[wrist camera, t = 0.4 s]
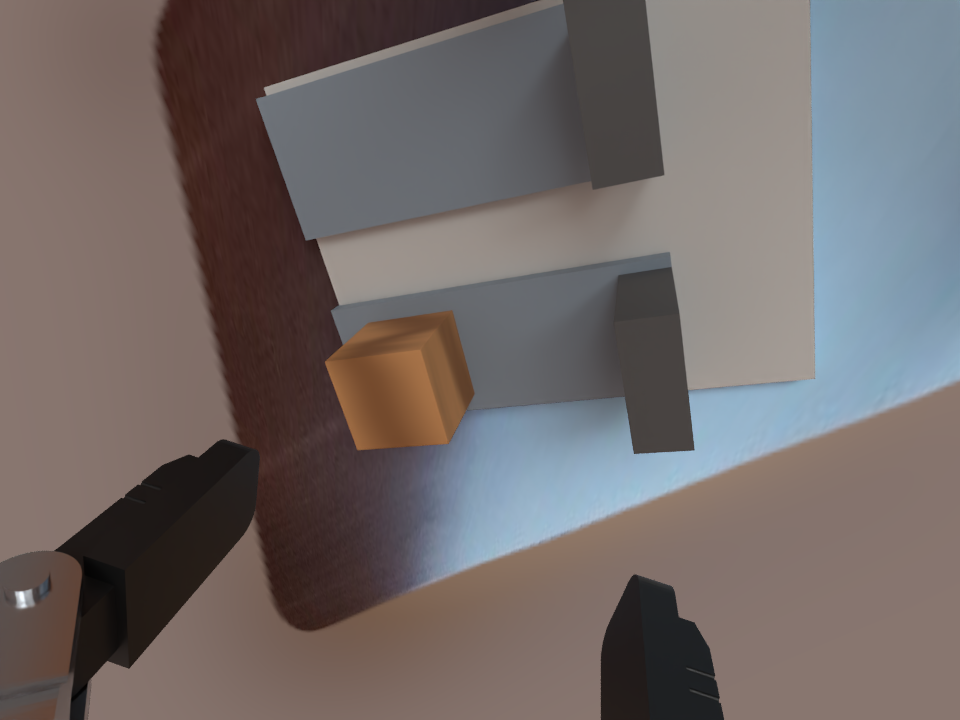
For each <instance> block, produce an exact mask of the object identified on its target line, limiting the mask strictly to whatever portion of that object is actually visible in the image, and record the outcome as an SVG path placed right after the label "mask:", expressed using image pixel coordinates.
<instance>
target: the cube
mask: <svg viewBox="0 0 960 720" xmlns="http://www.w3.org/2000/svg"><path fill="white" fill-rule="evenodd" d="M325 364H326V367H327V369H328V372H329V375H330V377H331V380H332V383H333V385H334V388H335V391H336V393H337V396H338V399H339V402H340V404H341V407H342V410H343V412H344V415H345V418H346V420H347V423H348V426H349V428H350V431H351V434H352V436H353V439H354V442H355V444H356V447H357V450H367V449H381V448H395V447H410V446H424V445H438V444H449V442H450V440H451V438H452V437H453V435H454V433H455V431H456V429H457V427H458V425H459V423H460V421H461V419H462V417H463V415H464V414H465V412H466V410H467V408H468V406H469V404H470V402H471V400H472V398H473V396H474V394H475V393H474V389H473V385H472V382H471V378H470V374H469V370H468V367H467V363H466V359H465V355H464V352H463V348H462V344H461V341H460V337H459V333H458V329H457V326H456V322H455V318H454V315H453V311H452V310H450V311H443V312H437V313H430V314H423V315H417V316H410V317H403V318H397V319H390V320H383V321H376V322H370V323H367V324H366V325H365V326H364V327H363V328H362V329H361V330H360V331H358V332H357V333H356V334H355V335H354V336H353V337H352V338H351V339H350V340H348V341H347V342H346V343H345V344H344V345H343V346H342V347H341V348H340V349H338V350H337V351H336V352H335V353H334V354H333V355H332V356H331V357H330V358H328V359H327V360H326V361H325Z"/></svg>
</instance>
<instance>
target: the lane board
mask: <svg viewBox="0 0 960 720" xmlns="http://www.w3.org/2000/svg"><path fill="white" fill-rule="evenodd" d="M645 1H646V10H647V19H648V28H649V37H650V46H651V56H652V65H653V74H654V83H655V92H656V102H657V111H658V120H659V129H660V138H661V147H662V157H663V166H664V175H663V176H659V177H654V178H649V179H644V180H639V181H634V182H629V183H624V184H619V185H614V186H609V187H605V188H600V189H595V190H593V189H592V183H591V181H589V182H584V183H579V184H574V185H570V186H565V187H560V188H555V189H550V190H546V191H541V192H536V193H531V194H527V195H522V196H517V197H512V198H507V199H503V200H498V201H493V202H488V203H483V204H479V205H474V206H469V207H464V208H460V209H455V210H450V211H445V212H440V213H436V214H431V215H426V216H421V217H416V218H412V219H407V220H402V221H397V222H392V223H388V224H383V225H378V226H373V227H369V228H364V229H359V230H354V231H349V232H345V233H340V234H335V235H330V236H325V237H321V238H316V240H317V242H318V245H319V248H320V251H321V254H322V257H323V260H324V263H325V265H326V268H327V271H328V274H329V277H330V280H331V283H332V286H333V288H334V291H335V294H336V297H337V300H338V303H339V306H340V305H346V304H352V303H358V302H364V301H371V300H377V299H383V298H389V297H395V296H401V295H407V294H414V293H420V292H426V291H432V290H438V289H444V288H450V287H456V286H463V285H469V284H475V283H481V282H487V281H493V280H499V279H506V278H512V277H518V276H524V275H530V274H536V273H542V272H549V271H555V270H561V269H567V268H573V267H579V266H585V265H592V264H598V263H604V262H610V261H616V260H622V259H628V258H635V257H641V256H647V255H653V254H659V253H665V252H670V256H671V265H672V272H673V277H674V283H675V289H676V295H677V301H678V307H679V313H680V322H681V331H682V340H683V349H684V358H685V368H686V377H687V386H688V390H695V389H706V388H717V387H728V386H740V385H751V384H762V383H773V382H785V381H796V380H807V379H815V332H814V260H813V188H812V116H811V43H810V0H645ZM560 4H563V0H539V1H536V2H532V3H529V4H526V5H523V6H520V7H517V8H513V9H510V10H507V11H504V12H501V13H498V14H495V15H491V16H488V17H485V18H482V19H479V20H476V21H472V22H469V23H466V24H463V25H460V26H457V27H454V28H450V29H447V30H444V31H441V32H438V33H435V34H432V35H428V36H425V37H422V38H419V39H416V40H413V41H409V42H406V43H403V44H400V45H397V46H394V47H391V48H387V49H384V50H381V51H378V52H375V53H372V54H368V55H365V56H362V57H359V58H356V59H353V60H350V61H346V62H343V63H340V64H337V65H334V66H331V67H328V68H324V69H321V70H318V71H315V72H312V73H309V74H305V75H302V76H299V77H296V78H293V79H290V80H287V81H283V82H280V83H277V84H274V85H271V86H268V87H264V90H265V93H266V96H268V95H271V94H274V93H277V92H280V91H284V90H287V89H290V88H293V87H297V86H300V85H303V84H306V83H309V82H313V81H316V80H319V79H322V78H325V77H329V76H332V75H335V74H338V73H341V72H345V71H348V70H351V69H354V68H358V67H361V66H364V65H367V64H370V63H374V62H377V61H380V60H383V59H386V58H390V57H393V56H396V55H399V54H403V53H406V52H409V51H412V50H415V49H419V48H422V47H425V46H428V45H431V44H435V43H438V42H441V41H444V40H448V39H451V38H454V37H457V36H460V35H464V34H467V33H470V32H473V31H476V30H480V29H483V28H486V27H489V26H492V25H496V24H499V23H502V22H505V21H509V20H512V19H515V18H518V17H521V16H525V15H528V14H531V13H534V12H537V11H541V10H544V9H547V8H550V7H554V6H557V5H560Z"/></svg>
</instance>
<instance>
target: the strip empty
mask: <svg viewBox="0 0 960 720" xmlns="http://www.w3.org/2000/svg"><path fill="white" fill-rule="evenodd" d="M256 101H257V104H258V107H259V110H260V112H261V115H262V118H263V121H264V124H265V127H266V129H267V132H268V135H269V138H270V141H271V143H272V146H273V149H274V152H275V155H276V158H277V160H278V163H279V166H280V169H281V172H282V174H283V177H284V180H285V183H286V186H287V189H288V191H289V194H290V197H291V200H292V203H293V205H294V208H295V211H296V214H297V217H298V220H299V222H300V225H301V228H302V231H303V234H304V236H305V239H306V240H311V239H316V238H321V237H325V236H330V235H335V234H340V233H345V232H349V231H354V230H359V229H364V228H369V227H373V226H378V225H383V224H388V223H392V222H397V221H402V220H407V219H412V218H416V217H421V216H426V215H431V214H436V213H440V212H445V211H450V210H455V209H460V208H464V207H469V206H474V205H479V204H483V203H488V202H493V201H498V200H503V199H507V198H512V197H517V196H522V195H527V194H531V193H536V192H541V191H546V190H550V189H555V188H560V187H565V186H570V185H574V184H579V183H584V182H589V181H591V183H592V189H593V190H595V189H600V188H605V187H609V186H614V185H619V184H624V183H629V182H634V181H639V180H644V179H649V178H654V177H659V176H663V175H664V166H663V157H662V147H661V138H660V129H659V120H658V111H657V102H656V92H655V83H654V74H653V65H652V56H651V46H650V37H649V28H648V19H647V10H646V1H645V0H563V4H560V5H557V6H554V7H550V8H547V9H544V10H541V11H537V12H534V13H531V14H528V15H525V16H521V17H518V18H515V19H512V20H509V21H505V22H502V23H499V24H496V25H492V26H489V27H486V28H483V29H480V30H476V31H473V32H470V33H467V34H464V35H460V36H457V37H454V38H451V39H448V40H444V41H441V42H438V43H435V44H431V45H428V46H425V47H422V48H419V49H415V50H412V51H409V52H406V53H403V54H399V55H396V56H393V57H390V58H386V59H383V60H380V61H377V62H374V63H370V64H367V65H364V66H361V67H358V68H354V69H351V70H348V71H345V72H341V73H338V74H335V75H332V76H329V77H325V78H322V79H319V80H316V81H313V82H309V83H306V84H303V85H300V86H297V87H293V88H290V89H287V90H284V91H280V92H277V93H274V94H271V95H268V96H264V97H261V98H258V99H256Z"/></svg>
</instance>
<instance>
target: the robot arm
mask: <svg viewBox="0 0 960 720" xmlns="http://www.w3.org/2000/svg"><path fill="white" fill-rule="evenodd" d="M259 460H260V456H259V452H258V451H257V450H255V449H252V448H249V447H246V446H243V445H240V444H237V443H234V442H230V441H227V440H220V441H218V442H216V443H215V444H214V445H213V446H212V447H210V448H209V449H208V450H207V451H206V452H205V453H203V454H202V455H201V456H200V457H199V458H198V457H195V456H192V455H186V456H184V457H182V458H179V459H177V460H174V461H172V462H169V463H167V464H164V465H162V466H161V467H160V468H158V469H157V470H156V471H154V472H153V473H152V474H151V475H150V476H148V477H147V478H146V479H144V480H143V481H142V483H141V485H137V486H136V487H134V488H133V489H132V490H131V491H129V492H128V493H127V494H126V495H125V497H124V498H121V499H119V500H118V501H117V502H116V503H114V504H113V505H112V506H110V507H109V508H108V509H107V510H105V511H104V512H103V513H102V514H100V515H99V516H98V517H97V518H95V519H94V520H93V521H92V522H90V523H89V524H88V525H86V526H85V527H84V528H83V529H81V530H80V531H79V532H78V533H76V534H75V535H74V536H73V537H71V538H70V539H69V540H68V541H66V542H65V543H64V544H63V545H61V546H60V547H59V548H58V549H56V550H55V551H36V552H30V553H25V554H22V555H18V556H15V557H12V558H10V559H7V560H5V561H3V562H1V563H0V720H88V714H89V704H90V694H91V678H92V677H93V676H94V675H95V673H96V672H97V671H98V670H99V669H100V668H101V667H102V666H103V664H105V662H106V661H109V662H112V663H115V664H118V665H121V666H123V667H126V668H130V667H131V666H132V665H133V664H134V662H135V661H136V660H137V659H138V658H139V657H140V655H141V654H142V653H143V652H144V650H146V648H147V647H148V646H149V645H150V644H151V643H152V641H153V640H154V639H155V638H156V637H157V635H158V634H159V633H160V632H161V631H162V630H163V628H164V627H165V626H166V625H167V624H168V622H169V621H170V620H171V619H172V618H173V617H174V616H175V614H176V613H177V612H178V611H179V610H180V609H181V607H182V606H183V605H184V604H185V603H186V601H187V600H188V599H189V598H190V597H191V596H192V594H193V593H194V592H195V591H196V590H197V589H198V588H199V586H200V585H201V584H202V583H203V582H204V581H205V579H206V578H207V577H208V576H209V575H210V574H211V572H212V571H213V570H214V569H215V568H216V566H217V565H218V564H219V563H220V562H221V561H222V559H223V558H224V557H225V556H226V555H227V554H228V552H229V551H230V550H231V549H232V548H233V547H234V545H235V544H236V543H237V542H238V541H239V540H240V538H241V537H242V536H243V535H244V533H245V532H246V530H247V528H248V527H249V525H250V523H251V520H252V518H253V515H254V511H255V506H256V495H257V484H258V472H259ZM714 677H715V673H714V668H713V663H712V659H711V653H710V649H709V647H708V645H707V644H706V642H705V640H704V638H703V637H702V635H701V633H700V631H699V630H698V628H697V627H696V625H695V623H694V622H691V621H688V620H685V619H682V618H679V616H678V610H677V603H676V597H675V592H674V589H673V587H672V586H669V585H666V584H663V583H660V582H657V581H654V580H651V579H648V578H645V577H642V576H638V575H633V576H632V577H631V579H630V580H629V582H628V584H627V586H626V589H625V591H624V593H623V596H622V597H621V599H620V601H619V603H618V606H617V608H616V610H615V612H614V614H613V616H612V618H611V620H610V622H609V625H608V627H607V630H606V633H605V637H604V640H603V645H602V652H601V720H724V717H723V712H722V707H721V703H719V698H720V697H719V693H718V687H717V682H716V680H714Z"/></svg>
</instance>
